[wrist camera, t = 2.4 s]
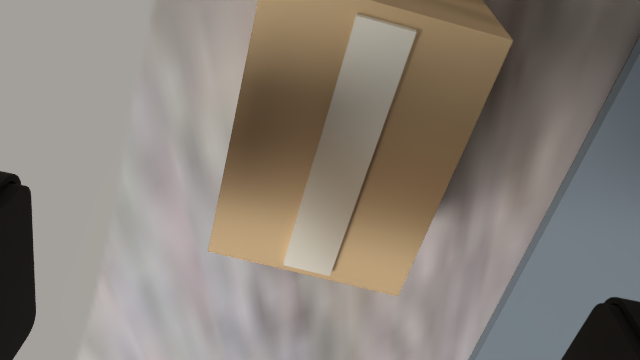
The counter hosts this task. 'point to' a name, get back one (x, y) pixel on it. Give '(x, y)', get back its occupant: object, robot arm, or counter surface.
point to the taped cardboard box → (352, 132)
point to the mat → (578, 239)
